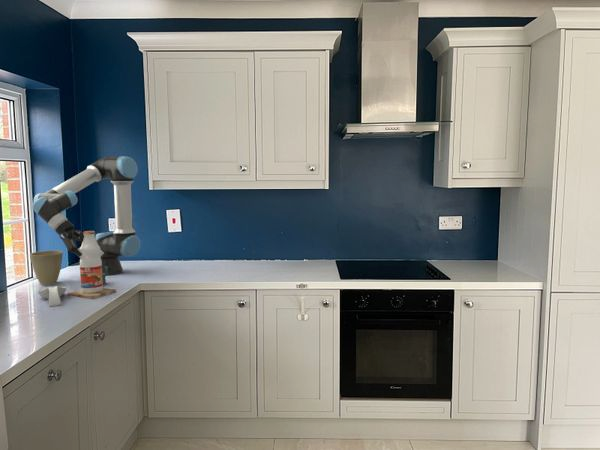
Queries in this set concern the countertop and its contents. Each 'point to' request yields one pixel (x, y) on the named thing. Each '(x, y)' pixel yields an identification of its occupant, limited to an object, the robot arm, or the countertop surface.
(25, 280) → the countertop surface
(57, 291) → the spoon rest
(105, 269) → the bracket
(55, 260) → the plant pot
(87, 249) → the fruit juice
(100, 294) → the brown square board
